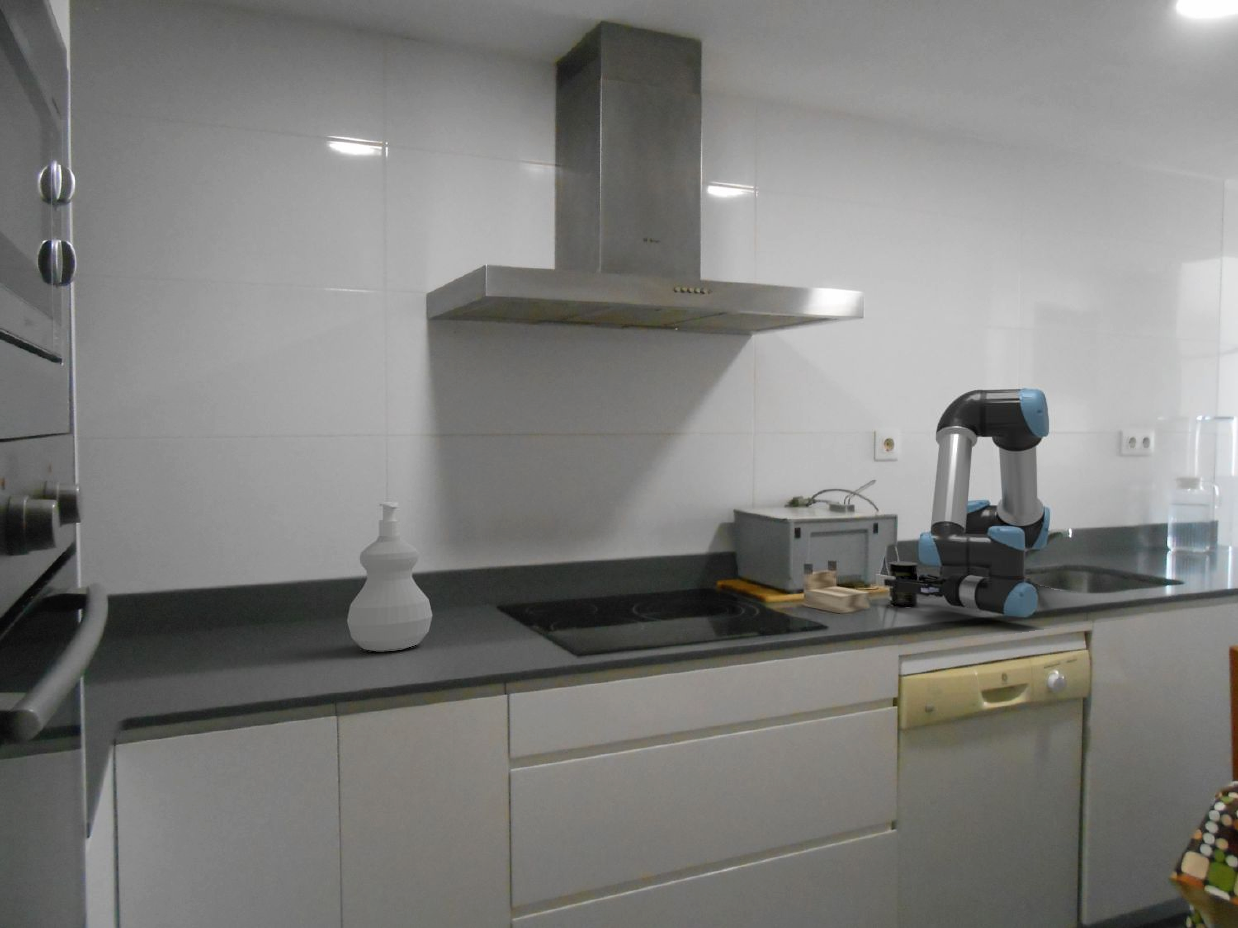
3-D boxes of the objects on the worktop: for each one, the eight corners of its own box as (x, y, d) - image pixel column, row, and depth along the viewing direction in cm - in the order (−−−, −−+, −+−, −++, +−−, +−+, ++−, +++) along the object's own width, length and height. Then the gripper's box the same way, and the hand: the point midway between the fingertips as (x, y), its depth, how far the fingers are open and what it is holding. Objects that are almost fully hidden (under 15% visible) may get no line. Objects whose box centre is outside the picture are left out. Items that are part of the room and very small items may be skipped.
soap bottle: (355, 660, 173) (353, 506, 171) (341, 647, 183) (338, 502, 181) (440, 648, 181) (439, 502, 180) (422, 637, 191) (420, 498, 190)
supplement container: (921, 607, 220) (922, 564, 220) (894, 608, 220) (894, 565, 219) (911, 602, 227) (911, 561, 226) (884, 602, 226) (884, 561, 226)
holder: (831, 601, 229) (831, 560, 229) (869, 608, 219) (869, 565, 219) (803, 605, 223) (803, 563, 223) (840, 613, 214) (841, 569, 213)
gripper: (940, 612, 203) (860, 597, 222) (992, 602, 214) (911, 589, 233) (940, 579, 202) (860, 566, 221) (993, 571, 213) (912, 560, 232)
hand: (886, 578), depth 227 cm, fingers closed on supplement container, 7 cm apart
